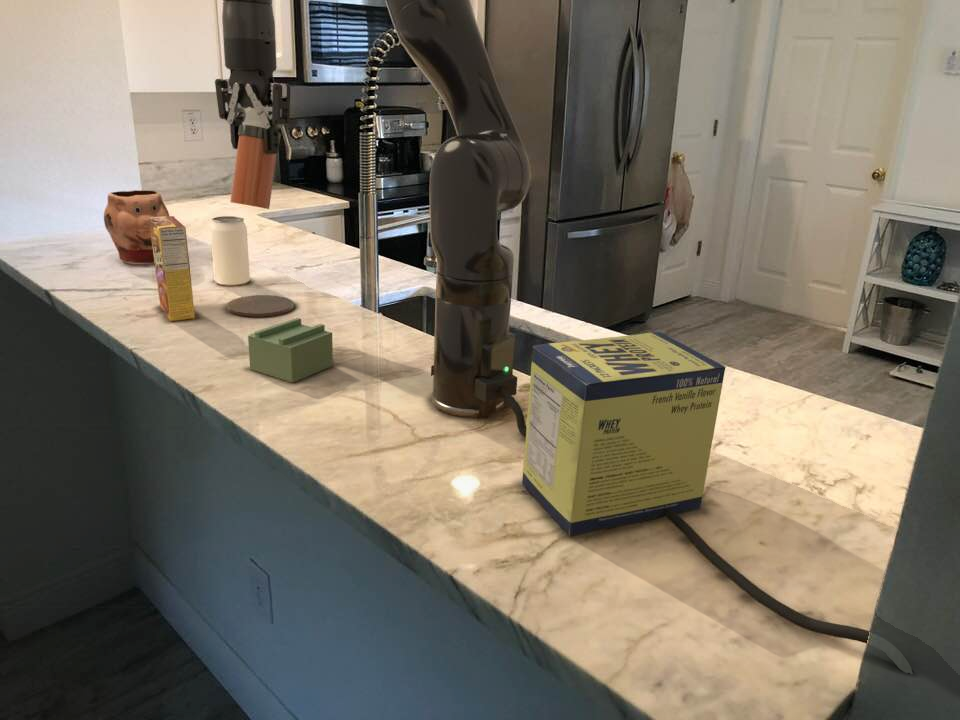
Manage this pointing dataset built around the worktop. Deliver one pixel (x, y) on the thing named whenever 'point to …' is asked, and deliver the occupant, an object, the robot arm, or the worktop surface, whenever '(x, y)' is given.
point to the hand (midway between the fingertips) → (255, 151)
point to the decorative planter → (133, 223)
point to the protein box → (619, 429)
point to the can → (230, 251)
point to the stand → (291, 350)
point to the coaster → (260, 306)
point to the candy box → (172, 267)
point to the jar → (252, 169)
